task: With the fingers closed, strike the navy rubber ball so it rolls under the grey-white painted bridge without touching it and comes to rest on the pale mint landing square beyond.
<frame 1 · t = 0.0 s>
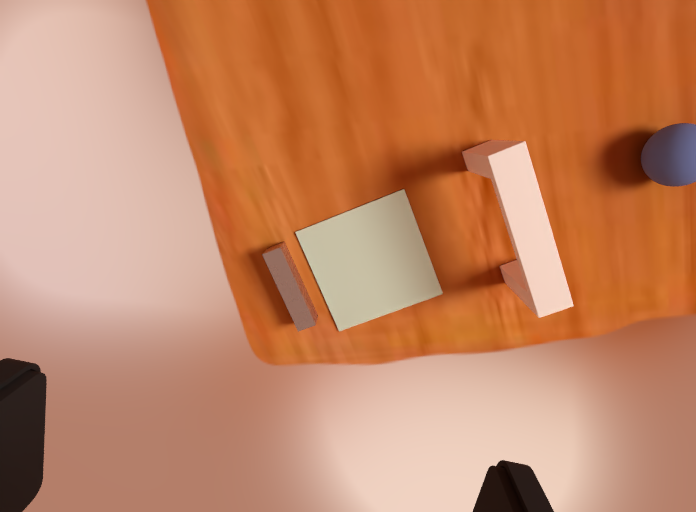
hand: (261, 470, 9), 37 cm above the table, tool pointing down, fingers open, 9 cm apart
ball: (677, 155, 40), on the table
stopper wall: (293, 282, 48), on the table
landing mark: (370, 263, 47), on the table
bridge: (498, 214, 45), on the table
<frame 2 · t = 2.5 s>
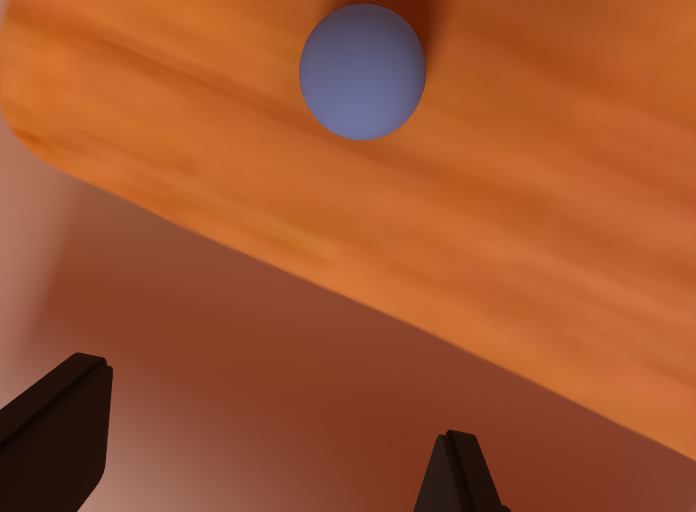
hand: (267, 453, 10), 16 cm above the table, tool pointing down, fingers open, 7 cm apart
ball: (362, 75, 20), on the table
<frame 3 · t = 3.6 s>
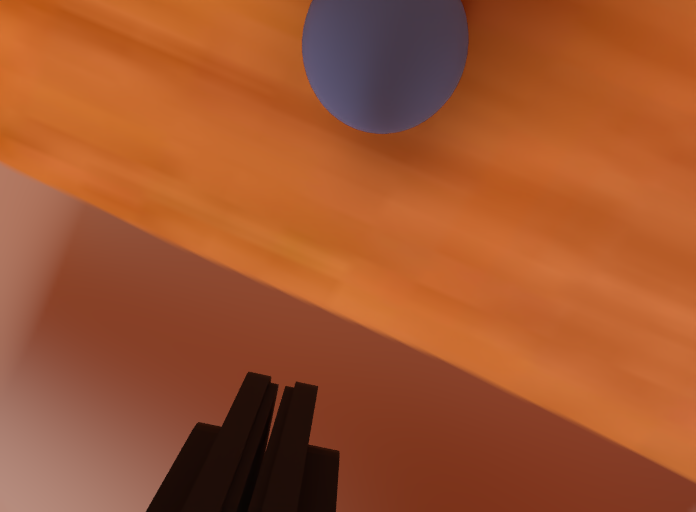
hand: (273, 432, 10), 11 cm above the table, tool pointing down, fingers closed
ball: (384, 49, 15), on the table
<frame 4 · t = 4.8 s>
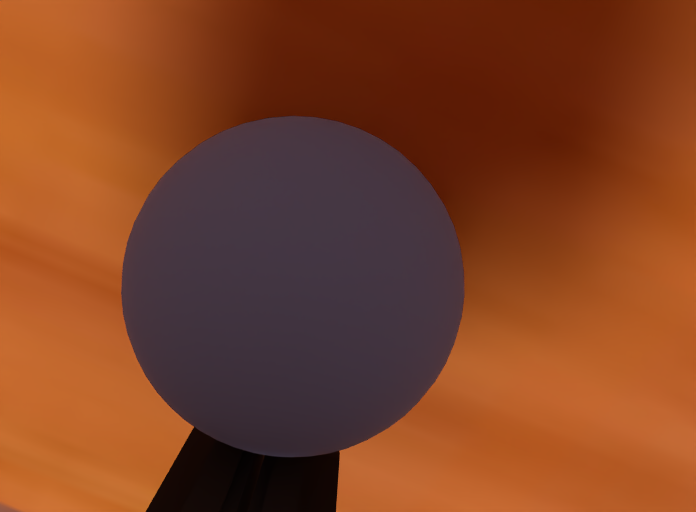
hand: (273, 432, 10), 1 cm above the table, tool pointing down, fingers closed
ball: (300, 282, 8), on the table, touching gripper
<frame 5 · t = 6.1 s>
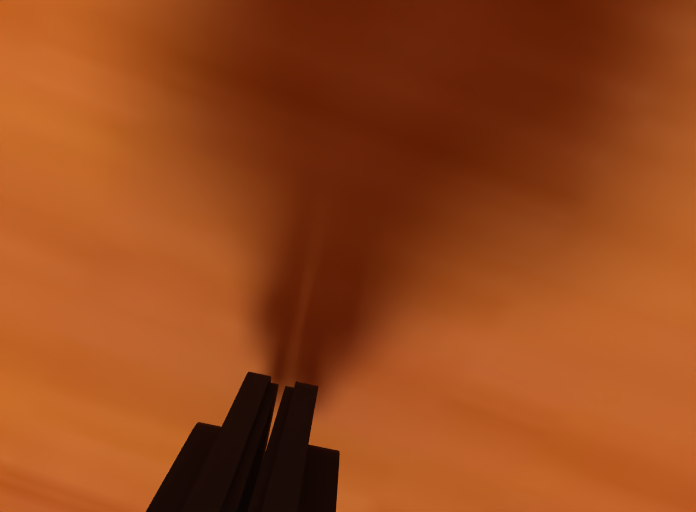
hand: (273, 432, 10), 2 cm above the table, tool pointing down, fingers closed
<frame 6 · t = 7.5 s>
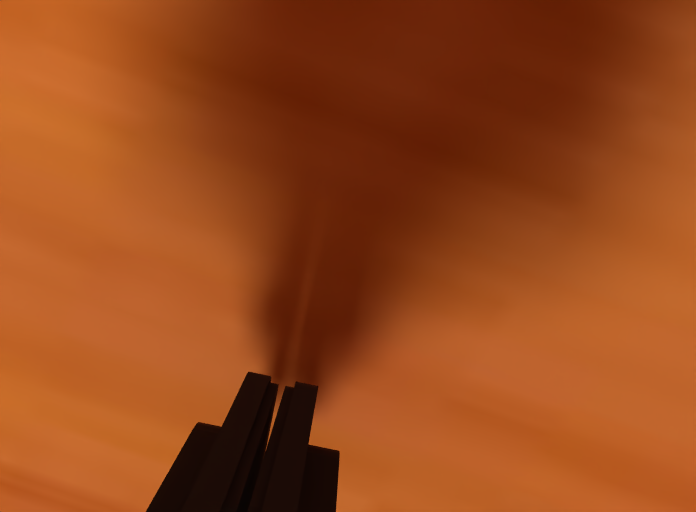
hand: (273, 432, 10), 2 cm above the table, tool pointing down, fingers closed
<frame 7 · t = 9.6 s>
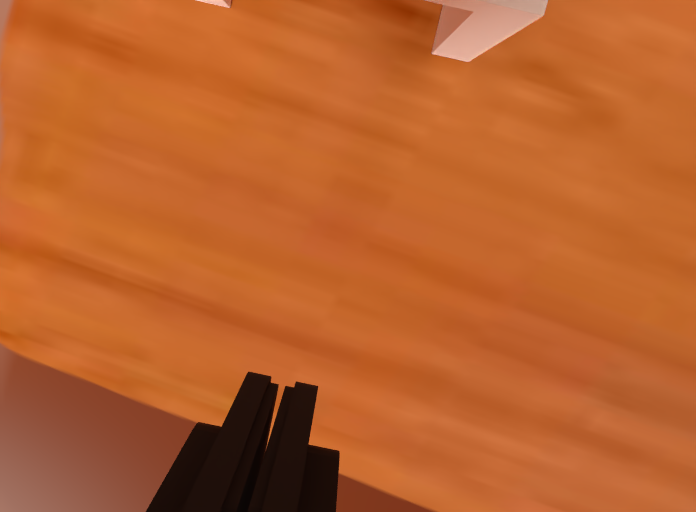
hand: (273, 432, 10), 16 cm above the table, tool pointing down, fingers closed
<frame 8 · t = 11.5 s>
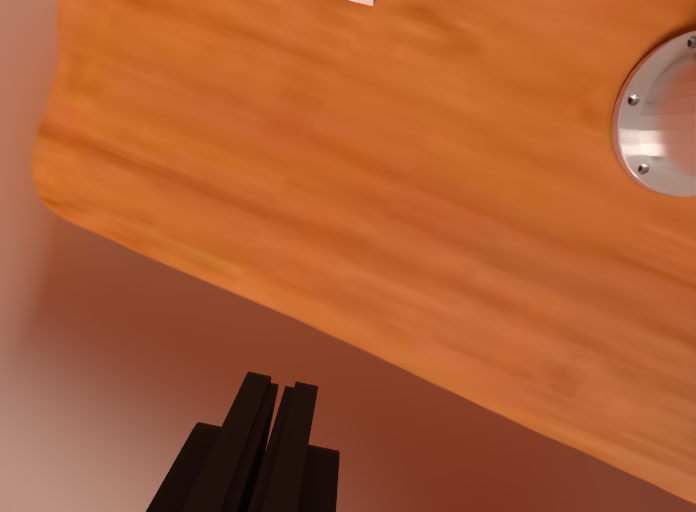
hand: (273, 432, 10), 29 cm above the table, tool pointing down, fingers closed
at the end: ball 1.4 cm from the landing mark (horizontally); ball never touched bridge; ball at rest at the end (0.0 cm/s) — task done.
